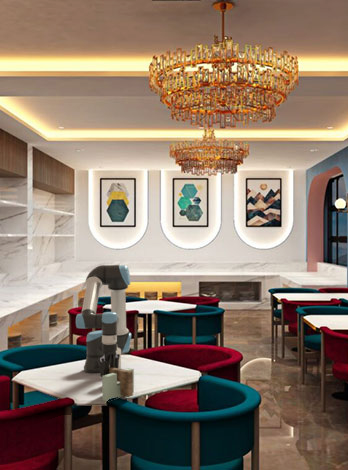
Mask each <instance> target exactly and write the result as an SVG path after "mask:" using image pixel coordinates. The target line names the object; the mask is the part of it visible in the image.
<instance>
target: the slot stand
mask: <svg viewBox="0 0 348 470" xmlns="http://www.w3.org/2000/svg"><path fill="white" fill-rule="evenodd" d="M124 370H129V371H133V393H134V392H135V391H134V390H135V388H134V387H135V385H134V384H135V375H134V374H135V371H134V370H135V369H134V368H130V367H129V368H125V369H124ZM101 379H102V380H101V381H102V383H101V384H102V385H101V386H102V389H101V390H102V394H101V395H102V397H101V398H102V400H101V401H102V402H106V403H108V402H109V401H108V400H109V399H111V398H115V397H118V398H117V399H119V398H122V397H123V396H122V395H121V382H120V383H118V384H117V374H115V373H111V374H107V375H104V376H102V377H101ZM107 401H108V402H107Z"/></svg>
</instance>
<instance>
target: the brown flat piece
mask: <svg viewBox="0 0 348 470" xmlns="http://www.w3.org/2000/svg"><path fill="white" fill-rule="evenodd" d="M111 373H115V374H117V381H118V382H121V395H122V397H128V398H130V397H133V396H134V394H133V371H129V370H125V369H123V368H121V369H118V368H113V367H109V374H111Z"/></svg>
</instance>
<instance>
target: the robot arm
mask: <svg viewBox="0 0 348 470" xmlns="http://www.w3.org/2000/svg"><path fill="white" fill-rule="evenodd" d="M84 284H85V286H86V288H85V292H84V298H83V303H82V309H81V313H77V314H76V317H75V326H76V329H85V330H86V329H101V330H94V331H90V332H88V333H87V335H86V341H85V342H86V359H85V363H84V366H83V372H85V373H90V374H99V373H100V377H101V378H102V376H104V375H107V374H109V365H110V367H113V368H118V367H119V357H120V354H116V351H117V347H118V348H120V349H121V354H123V353H129V351H130V348H131V340H132V333H131V332H130V330H129V329H128V328H127V309H126V308H127V307H126V306H127V304H126V300H127V299H126V290H128V288H129V286H130V285H131V276H130V269H129V267H128V266H127V265H123V264H114V265H113V264H111V265H110V264H109V265H108V264H106V265H105V264H101V265H98V266H96V267H94V268H93V269H91V270H90V271H89V273H88V275H86V278H85V283H84ZM102 286H107V289H108V290H109V291H110V307H111V308H110V311H105V312H103V313H97V309H98V301H99V295H100V289H101V288H102Z"/></svg>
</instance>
